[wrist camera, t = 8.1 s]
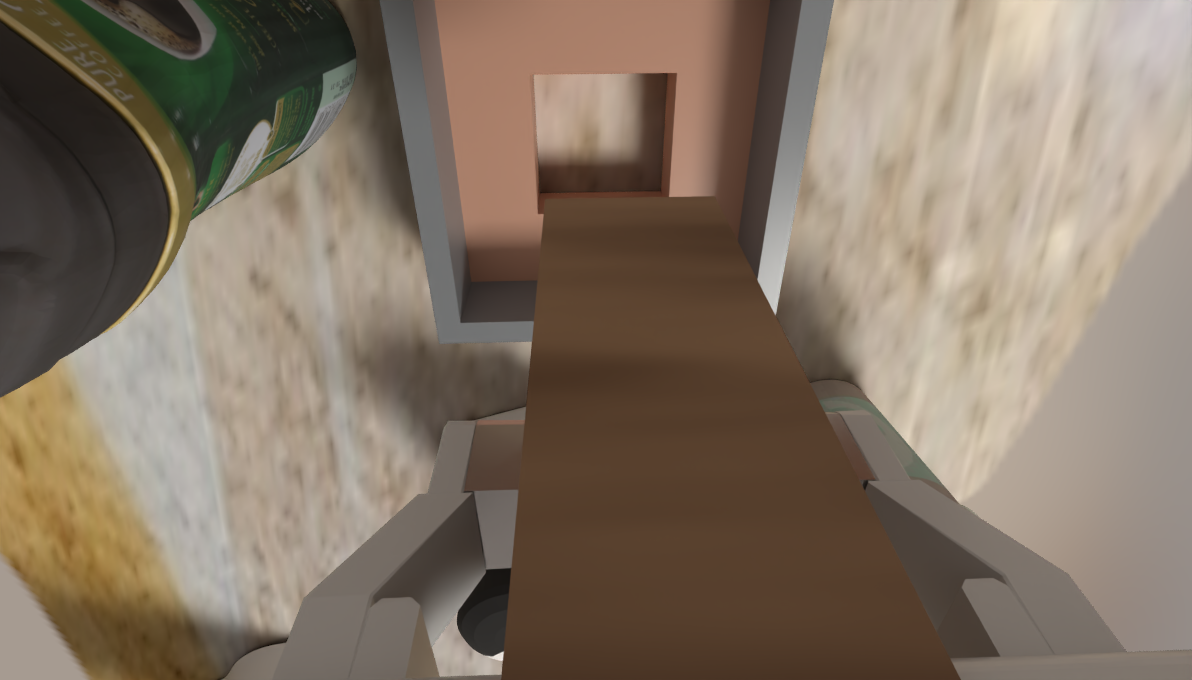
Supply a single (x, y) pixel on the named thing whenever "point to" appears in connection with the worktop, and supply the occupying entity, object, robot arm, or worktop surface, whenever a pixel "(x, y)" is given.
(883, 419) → the coffee cup
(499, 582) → the medicine bottle
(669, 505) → the peg
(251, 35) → the coffee jar
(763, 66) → the box
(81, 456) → the worktop surface
